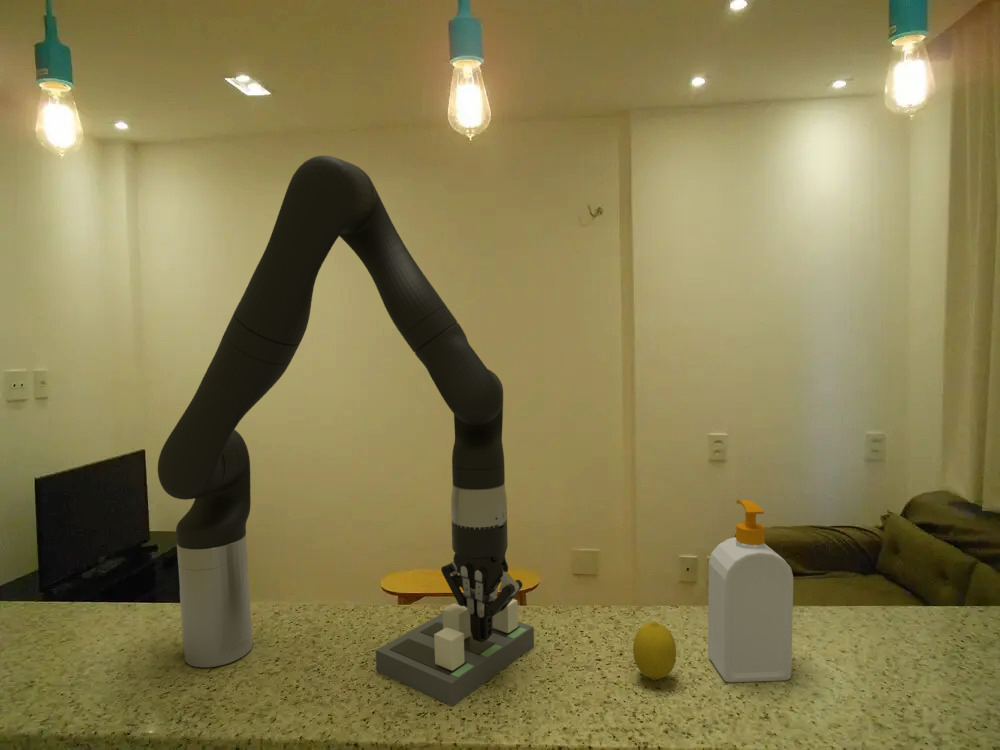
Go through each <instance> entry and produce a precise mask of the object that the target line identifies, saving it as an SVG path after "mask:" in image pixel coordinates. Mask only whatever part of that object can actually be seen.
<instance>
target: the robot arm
mask: <svg viewBox="0 0 1000 750" xmlns="http://www.w3.org/2000/svg"><path fill="white" fill-rule="evenodd" d="M279 208H280V209H279V211H278V214H277V218H276V220H275V224H274V225H273V226H274V227H273V229H272V232H271V234H270V237H269V239H268V242H267V245H266V247H265V250H264V251H263V254H262V256H261V258H260V260H259V261H258V264H257V266H256V268H255V270H254V272H253V274H252V276H251V278H250V280H249V282H248V285H247V287H246V288H245V291H244V292H243V295H242V297H241V299H240V301H239V302H238V304H237V306H236V308H235V309H234V312H233V314H232V316H231V318H230V320H229V322H228V324H227V326H226V329H225V331H224V333H223V335H222V337H221V339H220V342H219V344H218V347H217V349H216V352H215V353H214V355H213V357H212V359H211V362H210V363H209V365H208V368H207V369H206V371H205V373H204V375H203V377H202V380H201V381H200V384H199V386H198V388H197V389H196V392H195V393H194V395H193V398H192V399H191V401H190V402H189V404H188V406H187V407H186V409H185V411H184V412H183V414H182V415H181V417H180V418H179V419H178V421H177V423H176V425H175V426H174V428H173V429H172V430H171V432H170V434H169V436H168V437H167V439H166V441H165V442H164V444H163V446H162V449H161V451H160V453H159V456H158V460H157V475H158V480H159V484H160V486H161V487H162V488H163V491H165V493H166V494H167V495H169V496H170V497H173V498H174V499H177V500H182V501H183V500H184V501H185V500H193V503H192V505H191V506H190V508H189V510H188V511H187V513H185V515H184V516H183V517H182V518H181V519H179V521H178V523H177V525H176V527H175V528H176V529H175V539H176V552H177V565H178V581H179V601H180V617H181V619H180V620H181V632H182V644H183V652H184V653H183V654H184V661H185V663H186V664H188V665H189V666H192V667H194V668H195V667H196V668H213V667H220V666H224V665H228V664H231V663H233V662H235V661H237V660H239V659H241V658H243V657H244V656H247V654H248V653H249V652H250V651H251V650H252V648H253V629H252V628H253V627H252V611H251V593H250V579H249V578H250V577H249V563H248V562H249V561H248V546H247V545H248V544H247V527H246V526H247V521H248V518H249V516H250V511H251V501H252V500H251V461H250V460H251V459H250V454H249V449H248V446H247V443H246V441H245V439H244V437H242V435H241V434H240V433H239V432H238V431H237V430H236V428H237V426H238V425H239V423H240V422H241V420H242V419H244V417H245V416H246V414H248V412H250V410H251V409H252V408H253V407H254V406H256V404H257V403H258V402H259V401H260V400H261V399H262V398H263V397H264V396H265V395H266V394H268V392H269V391H270V390H271V389H272V388H273V387H274V386H275V385H276V383H277V382H278V381H279V380H280V379H281V377H282V376H283V375H284V374H285V372H286V370H287V369H288V367H289V366H290V364H291V362H292V360H293V359H294V356H295V355H296V352H297V350H298V348H299V347H300V345H301V342H302V340H303V338H304V336H305V333H306V331H307V329H308V324H309V319H310V316H311V309H312V301H313V294H314V288H315V284H316V280H317V277H318V275H319V271H320V269H321V268H322V265H323V264H324V262H325V260H326V259H327V257H328V255H329V253H330V251H331V249H332V248H333V246H334V244H335V243H336V241H337V239H338V238H339V237H340V238H341V240H343V241H344V242H345V244H347V245H348V247H349V248H350V249H351V250H352V251H353V252H354V253H355V254H356V256H357V257H358V258H359V259H360V261H361V262H362V264H363V265H364V267H365V268H366V270H367V271H368V273H369V275H370V276H371V278H372V281H373V283H374V284H375V287H376V289H377V291H378V294H379V296H380V298H381V301H382V303H383V306H384V307H385V309H386V312H387V313H388V315H389V317H390V319H391V321H392V323H393V324H394V326H395V327H396V329H397V331H398V332H399V333H400V335H401V336H402V338H403V339H404V340H405V342H406V344H407V345H408V346H409V348H410V349H411V351H412V352H413V353H414V354H415V356H416V357H417V359H418V360H419V361H420V362H421V363H422V364H423V366H424V367H425V368H426V370H427V372H428V374H429V376H430V378H431V380H432V382H433V384H434V385H435V387H436V389H437V390H438V392H439V394H440V395H441V397H442V399H443V401H444V402H445V404H446V405H447V407H448V408H449V410H450V411H451V412H452V413H453V422H454V424H453V425H454V443H453V448H452V456H451V466H452V467H451V471H452V489H451V499H450V502H451V503H450V507H451V545H452V546H451V548H452V551H453V552H454V555H453V561H451V562H449V563H448V564H446V565H443V566H442V567H441V570H440V571H441V574H442V576H443V577H444V579H445V581H446V583H447V585H448V587H449V589H450V591H451V592H452V594H453V597H454V598H455V600H456V602H457V604H459V605H460V606H465V607H466V608H467V609H468V612H469V613H470V631H471V634H472V637H473V639H474V640H476V641H479V642H484V641H486V640H487V639H489V638H490V636H491V635H492V633H493V626H492V625H493V619H492V617H493V616H494V615H496V614H497V613H499V612H500V611H503V610H504V609H505V608H506V607H507V605H508V604H509V603H510V602H511V600H512V599H515V597H516V596H517V594H518V593H519V592H520V591H521V589H522V588H523V582H522V581H521V580H520V579H514V578H513V577H512V576H511V575H510V573H509V565H508V561H507V560H506V553H507V549H508V501H507V500H508V497H507V492H506V479H505V478H506V477H505V475H506V474H505V454H504V446H503V422H504V416H503V415H504V387H503V383H502V381H501V379H500V378H499V377H498V375H497V374H496V373H495V372H493V371H492V370H490V369H489V368H487V366H486V365H485V364H484V362H483V361H482V360H481V358H480V357H479V356H478V354H477V353H476V351H475V350H474V349H473V347H472V346H471V345H470V343H469V341H468V338H467V336H466V332H465V331H464V330H463V328H462V326H461V324H460V323H459V322H458V320H457V319H456V318H455V316H454V315H453V313H452V312H451V310H450V309H449V308H448V306H447V305H446V303H445V302H444V301H443V299H442V298H441V297H440V295H439V293H438V292H437V291H436V289H435V288H434V286H433V285H432V284H431V282H430V281H429V279H428V277H427V276H426V275H425V274H424V272H423V271H422V270H421V268H420V267H419V265H418V264H417V262H416V261H415V259H414V258H413V256H412V254H411V253H410V251H409V250H408V248H407V246H406V245H405V243H404V242H403V240H402V238H401V236H400V234H399V233H398V231H397V229H396V227H395V225H394V224H393V221H392V220H391V219H392V218H391V217H390V216H389V213H388V211H387V209H386V207H385V205H384V203H383V201H382V199H381V197H380V195H379V193H378V191H377V189H376V186H375V184H374V183H373V181H372V179H371V178H370V176H369V174H367V172H366V171H365V170H364V169H362V168H360V167H359V166H358V165H355V164H354V163H351V162H348V161H345V160H344V159H340V158H339V157H334V156H332V155H317V156H313V157H311V158H309V159H307V160H306V161H304V162H303V163H302V164H301V165H300V166H298V167H297V169H296V171H294V173H293V175H292V177H291V179H290V181H289V183H288V186H287V189H286V192H285V195H284V198H283V200H282V202H281V206H280V207H279ZM499 585H500V586H499ZM498 592H500V593H498Z"/></svg>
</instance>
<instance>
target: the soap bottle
mask: <svg viewBox="0 0 1000 750" xmlns="http://www.w3.org/2000/svg"><path fill="white" fill-rule="evenodd" d="M738 504H739V505H741V506H742V507H743V510H744V512H745V514H744V516H745V518H744V519H745V521H742V522H741V521H740V522H738V523H737V524H736V525H735V537H729V538H727V539H726V540H724V541H722V542H721V543H718V545H717V546H716V547H715V548H714V549H713V551H712V552H711V553H710V557H709V561H708V602H707V603H708V604H707V605H708V607H707V608H708V614H707V615H708V617H707V618H708V619H707V621H708V622H707V623H708V624H707V631H708V632H707V655H708V658H709V659H710V661H711V662H712V665H714V667H715V669H716V670H717V672H718V673H719V675H720V676H721V678H722V679H723V681H724V682H726V683H746V682H747V683H750V682H751V683H752V682H753V683H754V682H778V681H788V680H790V679H791V677H792V662H793V661H792V660H793V659H792V658H793V654H792V653H793V652H792V651H793V615H794V614H793V613H794V612H793V611H794V610H793V609H794V575H793V571H792V567H791V566H790V565H789V564H788V563H787V561H786V560H785V559H784V558H783V557H781V555H780V554H778V553H777V552H776V551H775V550H773V549H772V548H771V547H769V546H768V545H767V544H766V543H765V542H766V541H765V540H766V528H765V526H764V525H763V524H760V523H757V521H756V520H757V515H764V514H765V513H764V512H765V511H764V509H763V508H761V506H760V505H759V504H758V503H756V502H754V501H752V500H749V499H738V500H736V505H738Z"/></svg>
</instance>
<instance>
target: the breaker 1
mask: <svg viewBox="0 0 1000 750" xmlns="http://www.w3.org/2000/svg"><path fill="white" fill-rule="evenodd" d="M434 643H435V664H437V665H440V666H442V667H444V668H447V669H449V670H451V671H453V670H454V669H456V668H457V667H459V666H460V665H462V664H463V663H464V633H461V632H458V631H456V630H453V629H450V628H447V627H446V628H444V629H443V630H441V631H439V632H437V633H436V634H434Z"/></svg>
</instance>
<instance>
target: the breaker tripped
mask: <svg viewBox="0 0 1000 750" xmlns="http://www.w3.org/2000/svg"><path fill="white" fill-rule="evenodd" d="M442 613H443V629H444V628H446V627H447V628H450V629H453V630H456V631H458V632H461V633H464V639H466V638H468V637H469V636H471V634H470V613H469V612H468V609H467V608H466V607H464V606H460V605H458V603H455V602H454V603H452V604H450V605H448V606H446V607H444V608H442Z"/></svg>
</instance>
